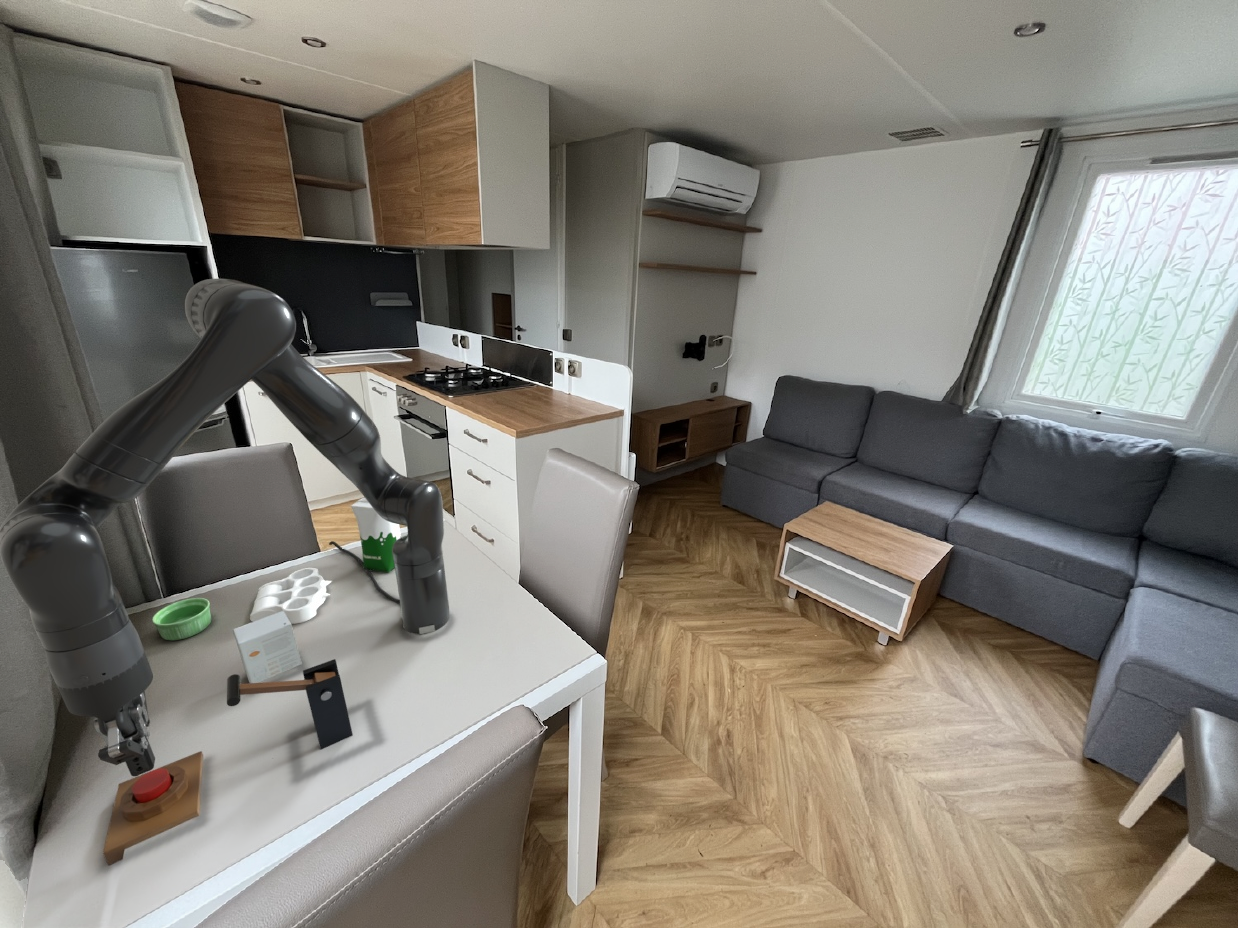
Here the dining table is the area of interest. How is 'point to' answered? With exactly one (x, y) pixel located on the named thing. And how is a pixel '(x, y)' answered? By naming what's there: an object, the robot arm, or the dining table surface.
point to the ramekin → (183, 619)
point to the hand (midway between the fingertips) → (144, 768)
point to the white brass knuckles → (292, 596)
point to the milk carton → (375, 537)
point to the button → (151, 785)
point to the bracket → (328, 705)
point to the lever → (268, 686)
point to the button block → (154, 808)
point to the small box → (267, 647)
